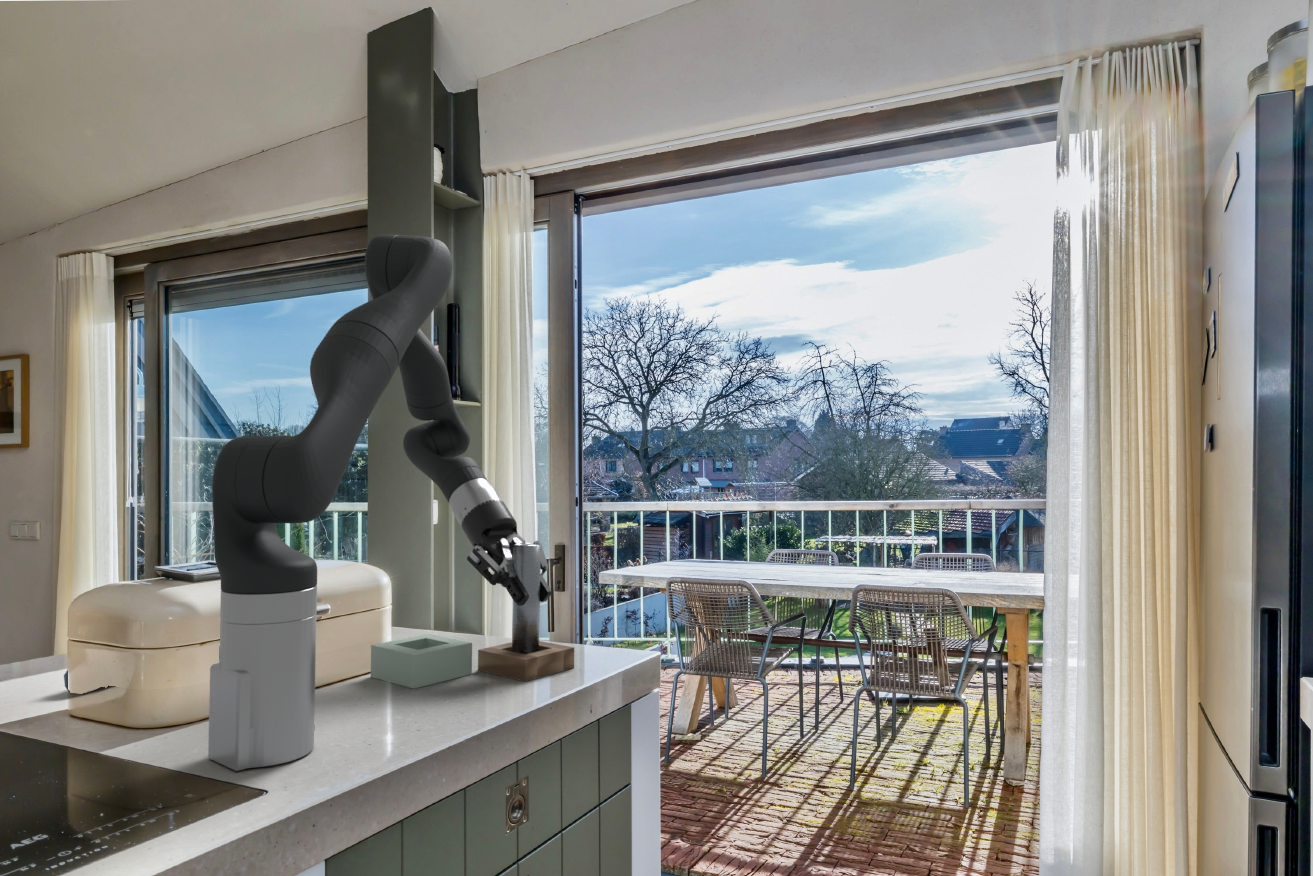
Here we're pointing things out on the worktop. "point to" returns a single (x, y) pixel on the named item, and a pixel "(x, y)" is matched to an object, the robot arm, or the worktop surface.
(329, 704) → the worktop surface
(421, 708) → the worktop surface
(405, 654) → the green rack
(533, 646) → the ball
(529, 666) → the walnut socket
